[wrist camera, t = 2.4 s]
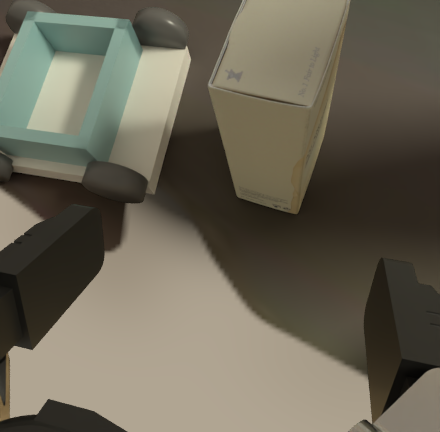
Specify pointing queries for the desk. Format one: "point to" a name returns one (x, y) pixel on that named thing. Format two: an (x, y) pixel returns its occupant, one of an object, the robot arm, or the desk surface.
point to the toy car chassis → (91, 97)
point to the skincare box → (277, 95)
